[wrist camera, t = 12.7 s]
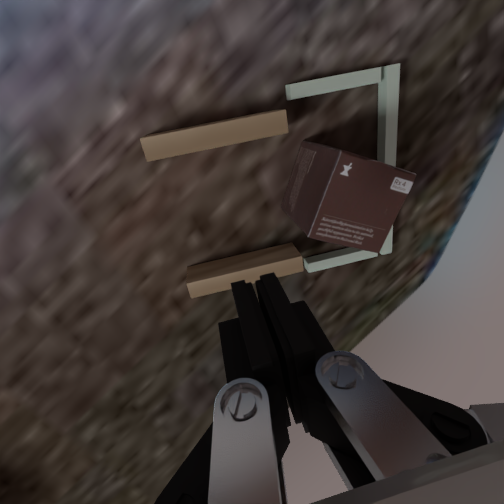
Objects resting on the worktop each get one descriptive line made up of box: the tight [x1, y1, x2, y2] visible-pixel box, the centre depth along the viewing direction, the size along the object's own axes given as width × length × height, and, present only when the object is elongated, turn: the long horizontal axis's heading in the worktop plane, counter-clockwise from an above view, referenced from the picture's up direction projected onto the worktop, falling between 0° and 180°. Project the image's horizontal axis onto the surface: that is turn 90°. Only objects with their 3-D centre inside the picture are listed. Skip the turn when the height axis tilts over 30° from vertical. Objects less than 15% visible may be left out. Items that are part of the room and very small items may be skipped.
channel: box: [140, 110, 303, 298], centre depth 24 cm, size 13×10×3 cm
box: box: [281, 140, 416, 253], centre depth 23 cm, size 6×6×7 cm
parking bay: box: [285, 63, 400, 273], centre depth 26 cm, size 16×8×1 cm, turn 10°
